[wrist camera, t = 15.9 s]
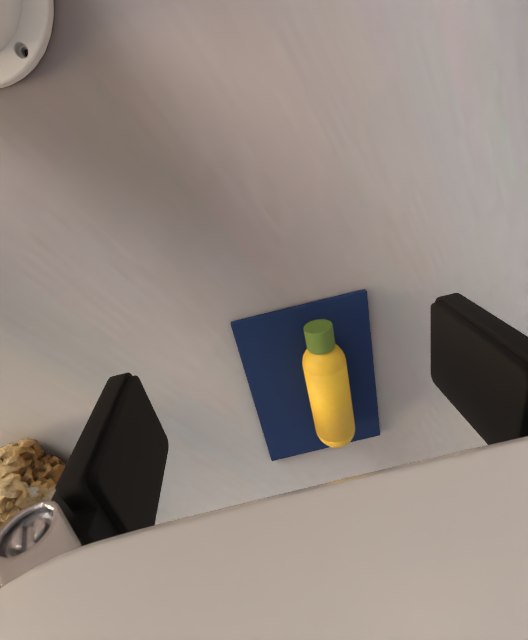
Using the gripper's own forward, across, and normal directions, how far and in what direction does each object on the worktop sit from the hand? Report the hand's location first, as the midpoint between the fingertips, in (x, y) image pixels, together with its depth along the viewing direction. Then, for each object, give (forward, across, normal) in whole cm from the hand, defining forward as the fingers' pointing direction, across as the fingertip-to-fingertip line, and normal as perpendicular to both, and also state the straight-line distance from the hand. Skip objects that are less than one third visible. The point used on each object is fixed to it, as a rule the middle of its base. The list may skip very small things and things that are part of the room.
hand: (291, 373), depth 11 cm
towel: (+23, -3, +19) cm, 30 cm away
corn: (+22, -3, +18) cm, 29 cm away
